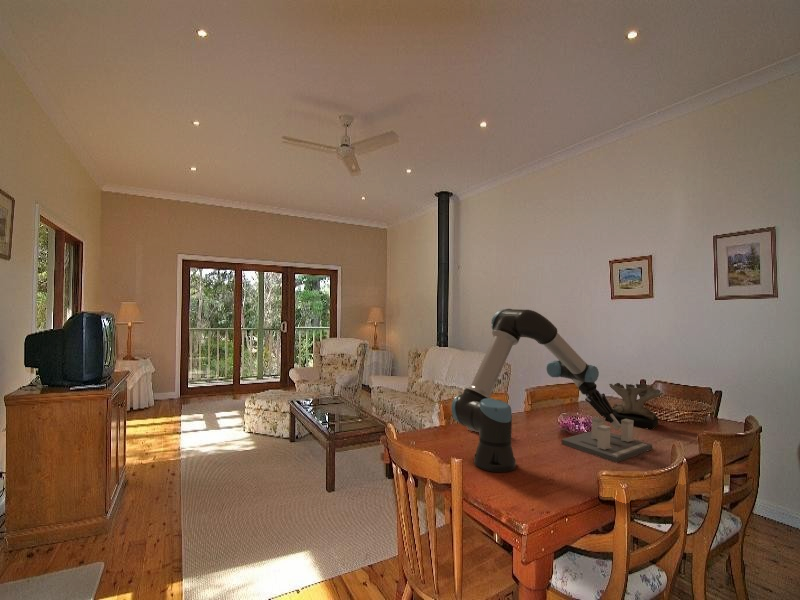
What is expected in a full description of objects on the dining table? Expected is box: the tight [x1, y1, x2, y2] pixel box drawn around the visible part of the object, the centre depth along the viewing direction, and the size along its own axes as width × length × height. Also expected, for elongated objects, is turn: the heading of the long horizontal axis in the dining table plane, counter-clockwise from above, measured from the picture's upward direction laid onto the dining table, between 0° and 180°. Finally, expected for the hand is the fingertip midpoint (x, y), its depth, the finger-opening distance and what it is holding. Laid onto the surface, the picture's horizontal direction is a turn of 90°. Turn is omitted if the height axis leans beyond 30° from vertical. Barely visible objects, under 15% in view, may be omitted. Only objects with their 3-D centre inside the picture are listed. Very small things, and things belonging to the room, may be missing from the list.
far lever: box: [620, 419, 634, 442], centre depth 176 cm, size 4×3×9 cm
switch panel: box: [560, 430, 653, 463], centre depth 174 cm, size 28×24×2 cm
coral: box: [604, 382, 664, 430], centre depth 208 cm, size 25×20×22 cm
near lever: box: [597, 424, 612, 450], centre depth 166 cm, size 4×3×9 cm
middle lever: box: [590, 416, 605, 440], centre depth 178 cm, size 4×3×9 cm
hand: (618, 428), depth 179 cm, fingers closed
